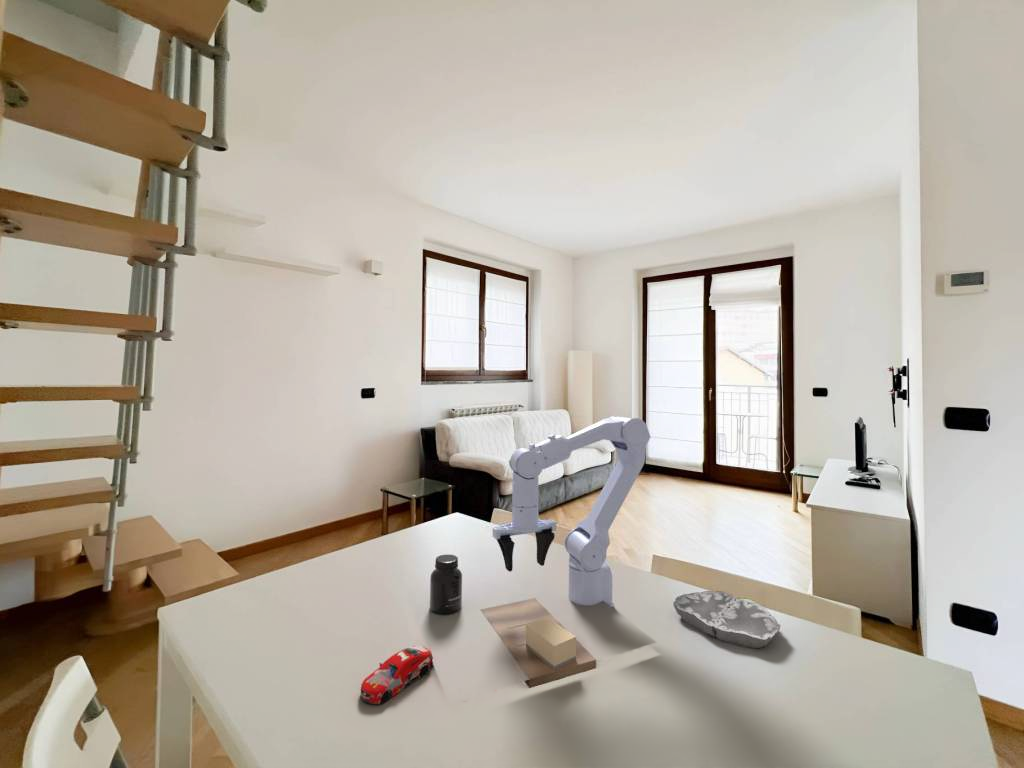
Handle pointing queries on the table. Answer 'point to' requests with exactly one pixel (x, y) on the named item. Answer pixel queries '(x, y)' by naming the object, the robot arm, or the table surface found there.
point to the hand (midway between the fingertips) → (524, 566)
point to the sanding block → (551, 642)
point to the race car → (396, 674)
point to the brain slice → (728, 618)
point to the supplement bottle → (446, 586)
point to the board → (513, 634)
